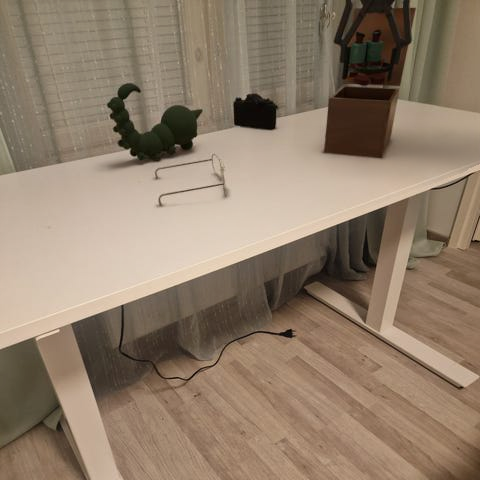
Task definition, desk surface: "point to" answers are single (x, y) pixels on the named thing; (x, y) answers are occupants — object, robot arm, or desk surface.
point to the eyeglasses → (194, 188)
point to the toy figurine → (161, 136)
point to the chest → (360, 120)
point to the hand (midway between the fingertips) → (366, 79)
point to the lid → (381, 22)
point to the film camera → (255, 112)
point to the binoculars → (367, 60)
